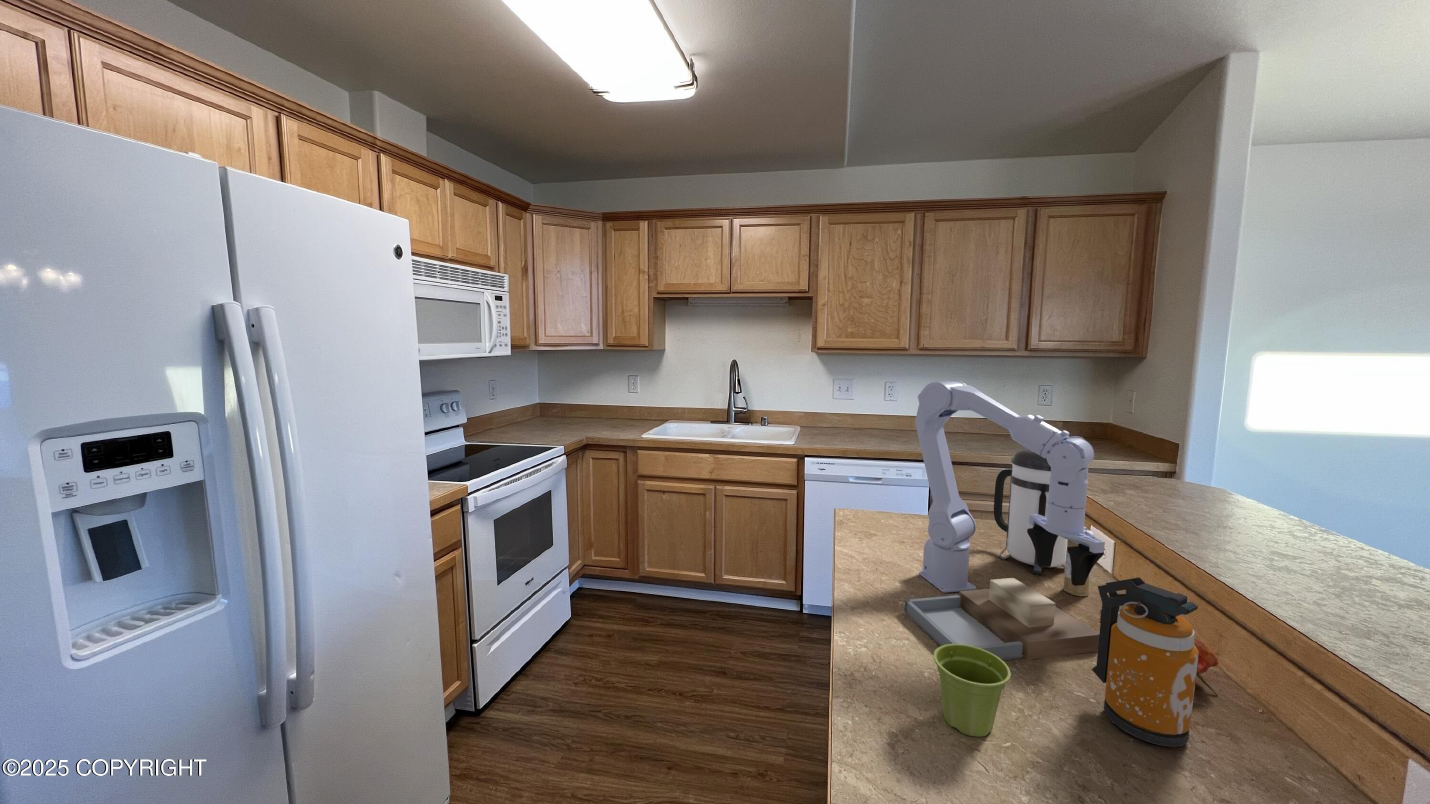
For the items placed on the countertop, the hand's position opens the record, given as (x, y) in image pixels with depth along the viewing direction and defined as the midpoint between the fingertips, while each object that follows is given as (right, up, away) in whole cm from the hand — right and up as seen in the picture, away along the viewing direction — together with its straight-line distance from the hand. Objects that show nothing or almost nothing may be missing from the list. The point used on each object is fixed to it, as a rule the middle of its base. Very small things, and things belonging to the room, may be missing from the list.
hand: (1060, 575), depth 96 cm
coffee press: (+11, -7, +28) cm, 31 cm away
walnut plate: (-7, -9, 0) cm, 12 cm away
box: (-20, -10, -2) cm, 22 cm away
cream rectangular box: (-8, -7, -1) cm, 10 cm away
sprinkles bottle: (+12, -8, +13) cm, 20 cm away
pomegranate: (+9, -12, -15) cm, 21 cm away
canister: (-6, -12, -24) cm, 28 cm away
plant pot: (-29, -12, -24) cm, 40 cm away
